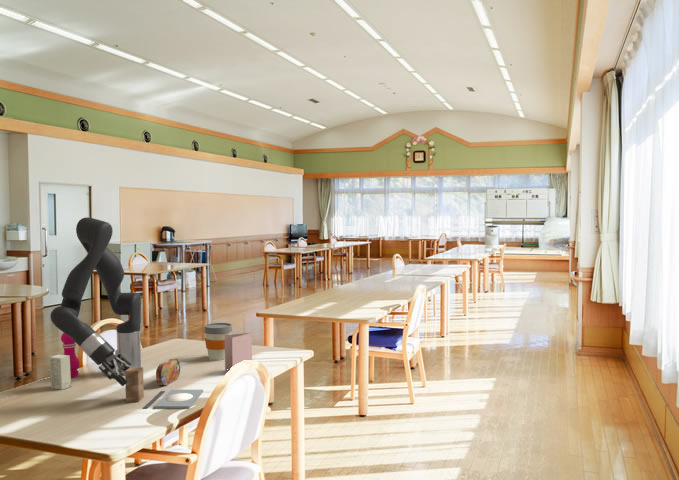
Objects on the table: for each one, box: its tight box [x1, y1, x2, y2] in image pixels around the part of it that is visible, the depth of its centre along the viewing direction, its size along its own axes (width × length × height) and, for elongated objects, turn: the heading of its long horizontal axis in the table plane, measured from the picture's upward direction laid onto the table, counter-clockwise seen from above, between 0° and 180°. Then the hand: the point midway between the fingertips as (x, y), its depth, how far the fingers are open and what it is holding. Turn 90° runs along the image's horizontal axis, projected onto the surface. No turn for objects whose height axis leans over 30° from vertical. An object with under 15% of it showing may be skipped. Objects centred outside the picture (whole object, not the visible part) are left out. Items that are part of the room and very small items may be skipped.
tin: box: [155, 358, 181, 386], centre depth 219 cm, size 15×3×8 cm, turn 168°
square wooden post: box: [124, 366, 145, 403], centre depth 198 cm, size 5×5×11 cm
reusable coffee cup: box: [203, 322, 233, 361], centre depth 255 cm, size 13×13×15 cm
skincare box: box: [49, 353, 72, 390], centre depth 212 cm, size 6×4×12 cm
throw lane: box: [142, 389, 204, 410], centre depth 198 cm, size 16×18×1 cm
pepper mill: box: [60, 332, 80, 379], centre depth 227 cm, size 7×7×20 cm
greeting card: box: [224, 332, 253, 371], centre depth 234 cm, size 11×7×15 cm, turn 110°
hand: (130, 380), depth 197 cm, fingers open, 8 cm apart
